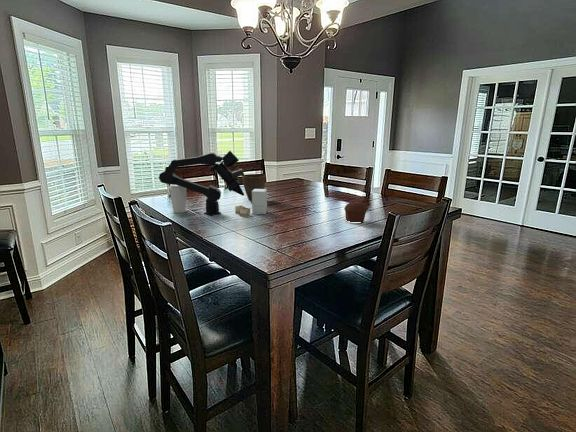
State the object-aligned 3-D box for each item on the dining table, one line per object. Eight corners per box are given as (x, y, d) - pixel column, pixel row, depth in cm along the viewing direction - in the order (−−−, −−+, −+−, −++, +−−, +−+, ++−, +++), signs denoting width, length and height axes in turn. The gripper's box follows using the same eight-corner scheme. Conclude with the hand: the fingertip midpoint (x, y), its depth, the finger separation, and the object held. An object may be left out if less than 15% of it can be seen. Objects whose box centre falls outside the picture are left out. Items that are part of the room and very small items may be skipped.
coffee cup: (166, 212, 185) (164, 185, 181) (179, 208, 193) (177, 182, 189) (179, 214, 181) (177, 186, 177) (192, 210, 189) (190, 184, 185)
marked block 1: (239, 215, 182) (238, 207, 180) (235, 213, 185) (235, 206, 184) (245, 214, 184) (245, 206, 183) (241, 212, 187) (241, 205, 186)
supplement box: (267, 211, 190) (267, 188, 187) (265, 214, 183) (265, 191, 180) (254, 210, 191) (254, 188, 188) (251, 213, 184) (251, 191, 181)
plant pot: (238, 201, 212) (238, 176, 208) (248, 197, 226) (247, 173, 222) (260, 203, 208) (260, 177, 204) (269, 198, 222) (269, 174, 218)
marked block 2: (246, 217, 177) (246, 209, 176) (240, 216, 179) (239, 208, 178) (250, 215, 181) (250, 207, 180) (243, 214, 183) (243, 207, 181)
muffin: (349, 225, 166) (350, 205, 163) (339, 219, 176) (340, 200, 173) (370, 223, 169) (372, 204, 166) (360, 218, 179) (361, 199, 177)
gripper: (236, 165, 169) (256, 188, 174) (235, 161, 187) (253, 182, 192) (219, 179, 170) (239, 202, 174) (220, 174, 188) (238, 195, 192)
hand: (243, 195), depth 183 cm, fingers closed
